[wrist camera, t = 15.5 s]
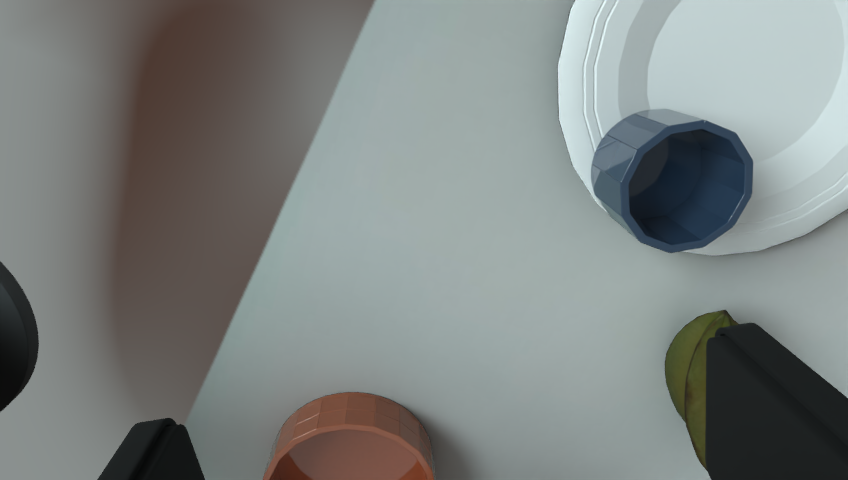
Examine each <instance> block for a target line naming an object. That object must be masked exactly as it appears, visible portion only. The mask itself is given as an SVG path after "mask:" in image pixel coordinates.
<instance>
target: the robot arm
mask: <svg viewBox="0 0 848 480" xmlns="http://www.w3.org/2000/svg"><path fill="white" fill-rule="evenodd" d="M705 462H706V467H707V470H708V473H709V476H710V478H711V480H848V398H847V397H846V396H844V395H843V394H842V393H841V392H839V391H838V390H837V389H836V388H834V387H833V386H832V385H831V384H829V383H828V382H827V381H826V380H825V379H823V378H822V377H821V376H820V375H818V374H817V373H816V372H815V371H813V370H812V369H811V368H810V367H809V366H807V365H806V364H805V363H804V362H802V361H801V360H800V359H799V358H797V357H796V356H795V355H794V354H793V353H791V352H790V351H789V350H788V349H786V348H785V347H784V346H783V345H781V344H780V343H779V342H778V341H777V340H775V339H774V338H773V337H772V336H770V335H769V334H768V333H767V332H765V331H764V330H763V329H762V328H761V327H759V326H758V325H756V324H755V323H746V324H739V325H733V326H727V327H721V328H719V329H717V331H716V333H715V337H712V338H709V339H708V341H707V345H706V429H705ZM98 480H205V478H204V475H203V473H202V470H201V467H200V464H199V462H198V459H197V456H196V454H195V451H194V448H193V445H192V443H191V440H190V437H189V434H188V432H187V430H186V427H185V426H184V425H181V424H180V425H177V424H176V422H175V421H174V420H173V419H171V418H165V419H159V420H153V421H146V422H140V423H137V424H135V425H134V426H133V427H132V428H131V430H130V432H129V433H128V435H127V436H126V438H125V439H124V441H123V442H122V444H121V445H120V447H119V448H118V450H117V451H116V453H115V454H114V456H113V457H112V459H111V460H110V462H109V463H108V465H107V466H106V468H105V469H104V471H103V472H102V474H101V475H100V477H99V478H98Z"/></svg>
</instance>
